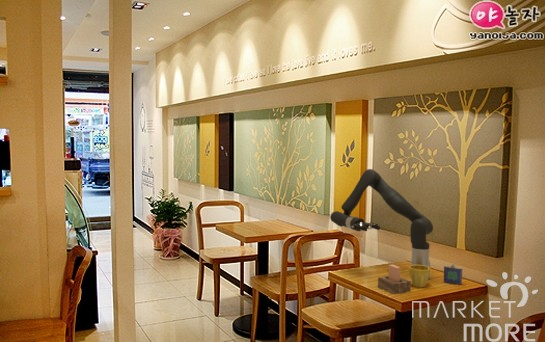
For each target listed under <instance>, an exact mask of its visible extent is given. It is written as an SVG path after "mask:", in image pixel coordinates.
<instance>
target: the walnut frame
mask: <svg viewBox="0 0 545 342" xmlns="http://www.w3.org/2000/svg"><path fill="white" fill-rule="evenodd" d="M411 285H412V280H409V279H406V278H403V277H401V276H400V282H397V283H396V282H394V281H391V280H389V279H388V275H383V276H379V277H378V278H377V288H379V289H382V290H383V289H384V291H386V292H388V293H390V294H392V295H395V294H402V293H407V292H411Z"/></svg>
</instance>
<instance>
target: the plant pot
mask: <svg viewBox="0 0 545 342" xmlns="http://www.w3.org/2000/svg"><path fill="white" fill-rule="evenodd" d="M408 272H409V274H410V279H411V285H412V286H413V287H416V288H424V287H425V288H426V286H427V281H428V280H427V278H428V275H429V274H431V267H430V268H429V267H427V266H424V265H410V266H409V267H408Z"/></svg>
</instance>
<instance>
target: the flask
mask: <svg viewBox="0 0 545 342" xmlns="http://www.w3.org/2000/svg"><path fill="white" fill-rule="evenodd" d="M443 283H444V284H450V285H458V286H462V284H463V268H462V267H459V266H458V267H457V266H456V264H455V263H452V264H451V265H449V264H447V265H444V267H443Z"/></svg>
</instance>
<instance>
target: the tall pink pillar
mask: <svg viewBox="0 0 545 342" xmlns="http://www.w3.org/2000/svg"><path fill="white" fill-rule="evenodd" d="M387 276H388V279H389V280H391V281H394V282H396V283H397V282H400V277H401V267H400V266H398V265H395V264H389V265H388V275H387Z"/></svg>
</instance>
